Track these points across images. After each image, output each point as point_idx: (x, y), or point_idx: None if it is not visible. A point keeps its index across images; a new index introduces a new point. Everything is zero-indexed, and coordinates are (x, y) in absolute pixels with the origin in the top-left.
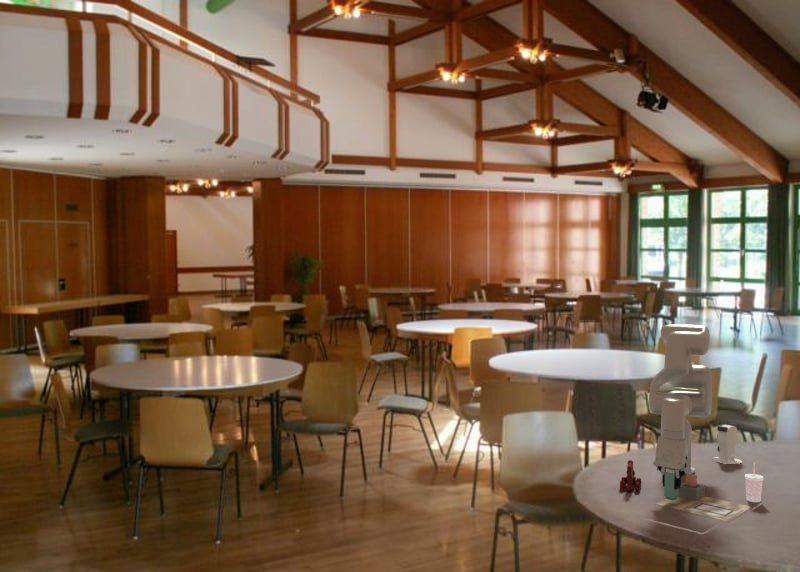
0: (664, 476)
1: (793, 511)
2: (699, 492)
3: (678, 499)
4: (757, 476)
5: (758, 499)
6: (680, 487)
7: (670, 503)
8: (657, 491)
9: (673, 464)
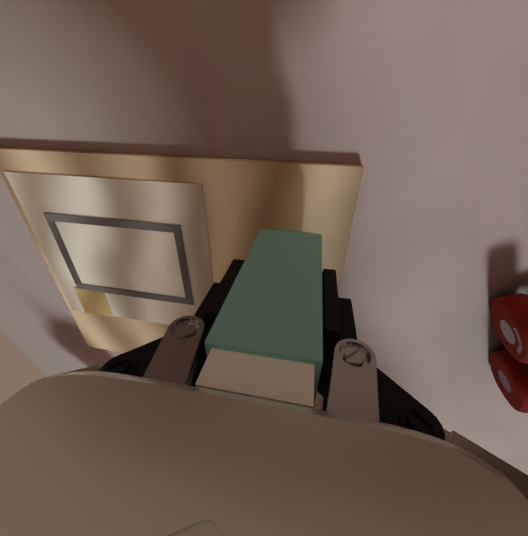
0: (326, 322)
1: (36, 365)
2: None
3: None
4: None
5: None
6: None
7: (291, 229)
8: (405, 362)
9: (105, 458)
